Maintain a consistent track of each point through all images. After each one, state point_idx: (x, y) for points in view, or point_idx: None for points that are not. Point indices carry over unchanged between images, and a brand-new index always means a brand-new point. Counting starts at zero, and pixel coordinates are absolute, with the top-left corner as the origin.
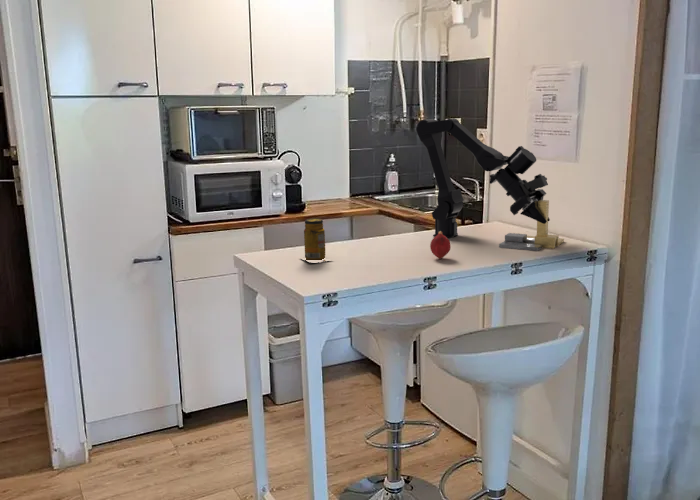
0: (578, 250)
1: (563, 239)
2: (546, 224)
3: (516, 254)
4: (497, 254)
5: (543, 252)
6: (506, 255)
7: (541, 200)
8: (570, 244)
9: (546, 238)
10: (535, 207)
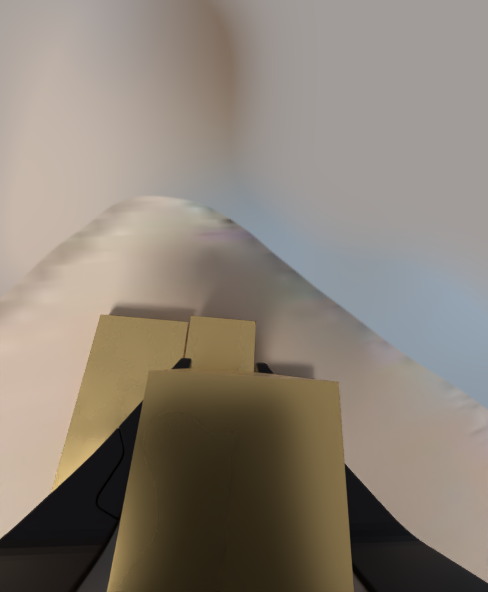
0: (243, 252)
1: (110, 315)
2: (231, 370)
3: (394, 444)
4: (436, 528)
5: (319, 354)
6: (429, 480)
7: (195, 581)
8: (152, 287)
9: (252, 360)
10: (408, 533)
